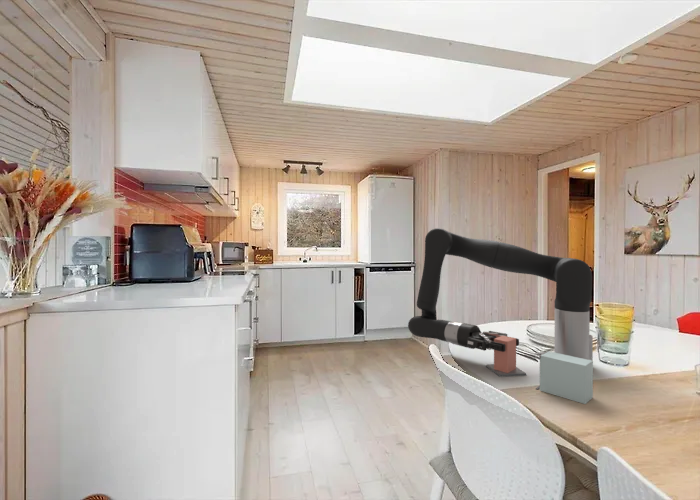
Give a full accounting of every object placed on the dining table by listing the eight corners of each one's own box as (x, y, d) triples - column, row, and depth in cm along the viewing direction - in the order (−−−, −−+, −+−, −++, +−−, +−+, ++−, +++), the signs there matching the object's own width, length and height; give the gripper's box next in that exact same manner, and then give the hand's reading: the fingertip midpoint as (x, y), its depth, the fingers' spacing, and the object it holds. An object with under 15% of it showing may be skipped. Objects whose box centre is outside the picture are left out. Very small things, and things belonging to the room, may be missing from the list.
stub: (493, 369, 100) (494, 338, 100) (502, 364, 104) (502, 335, 104) (507, 372, 97) (507, 341, 97) (516, 368, 101) (516, 338, 101)
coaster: (510, 365, 105) (510, 363, 105) (526, 375, 97) (526, 373, 97) (485, 366, 104) (485, 364, 104) (499, 376, 96) (499, 374, 96)
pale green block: (535, 389, 87) (535, 354, 87) (544, 383, 91) (544, 350, 91) (585, 404, 79) (585, 365, 79) (592, 397, 83) (592, 360, 82)
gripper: (449, 326, 107) (500, 336, 94) (473, 320, 116) (522, 328, 103) (449, 350, 107) (500, 363, 94) (473, 341, 116) (522, 353, 104)
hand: (511, 345), depth 99 cm, fingers open, 8 cm apart
